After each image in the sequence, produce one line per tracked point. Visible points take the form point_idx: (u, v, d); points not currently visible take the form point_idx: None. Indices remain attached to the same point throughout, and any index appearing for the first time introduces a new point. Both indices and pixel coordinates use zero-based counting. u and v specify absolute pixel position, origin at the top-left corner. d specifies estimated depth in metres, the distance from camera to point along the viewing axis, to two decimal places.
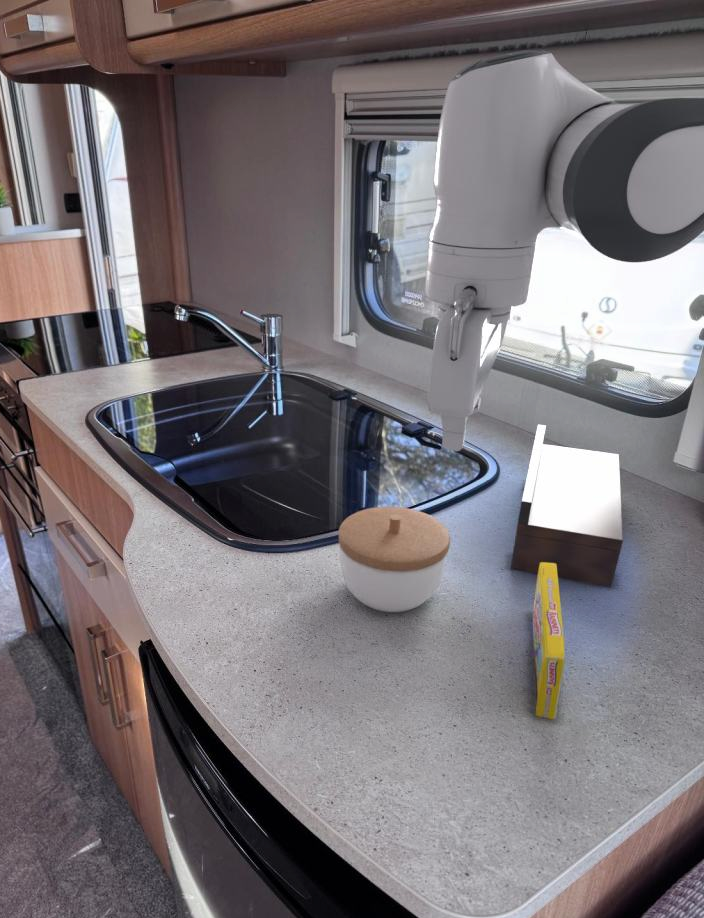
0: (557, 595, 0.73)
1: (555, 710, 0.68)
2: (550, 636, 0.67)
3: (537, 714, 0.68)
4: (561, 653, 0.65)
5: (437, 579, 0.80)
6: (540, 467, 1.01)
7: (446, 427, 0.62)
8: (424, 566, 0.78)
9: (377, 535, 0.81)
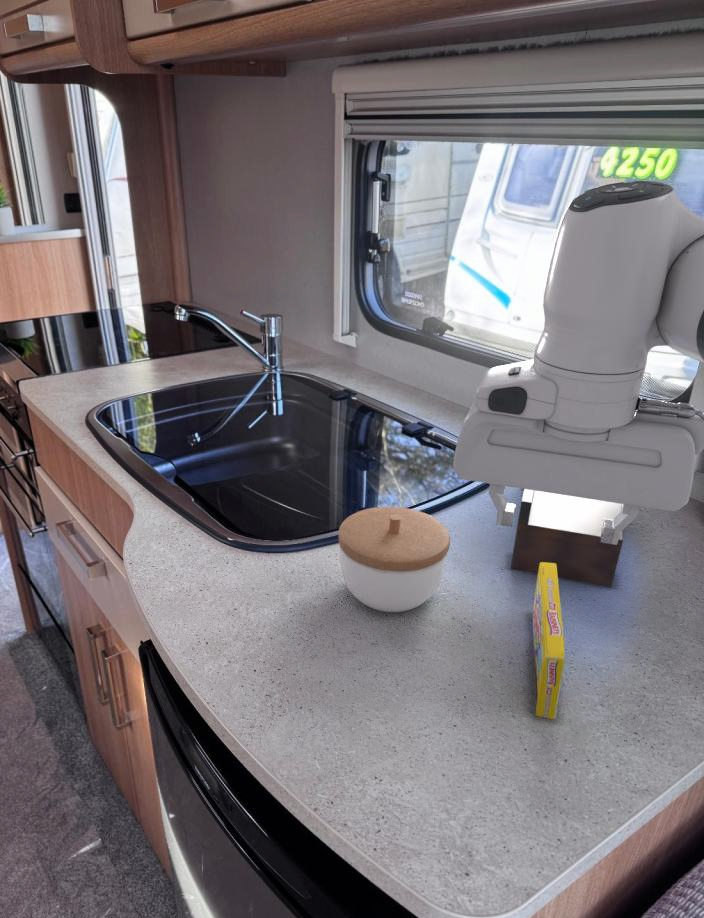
0: (557, 595, 0.73)
1: (555, 710, 0.68)
2: (550, 636, 0.67)
3: (537, 714, 0.68)
4: (561, 653, 0.65)
5: (437, 579, 0.80)
6: None
7: (626, 524, 0.65)
8: (424, 566, 0.78)
9: (377, 535, 0.81)
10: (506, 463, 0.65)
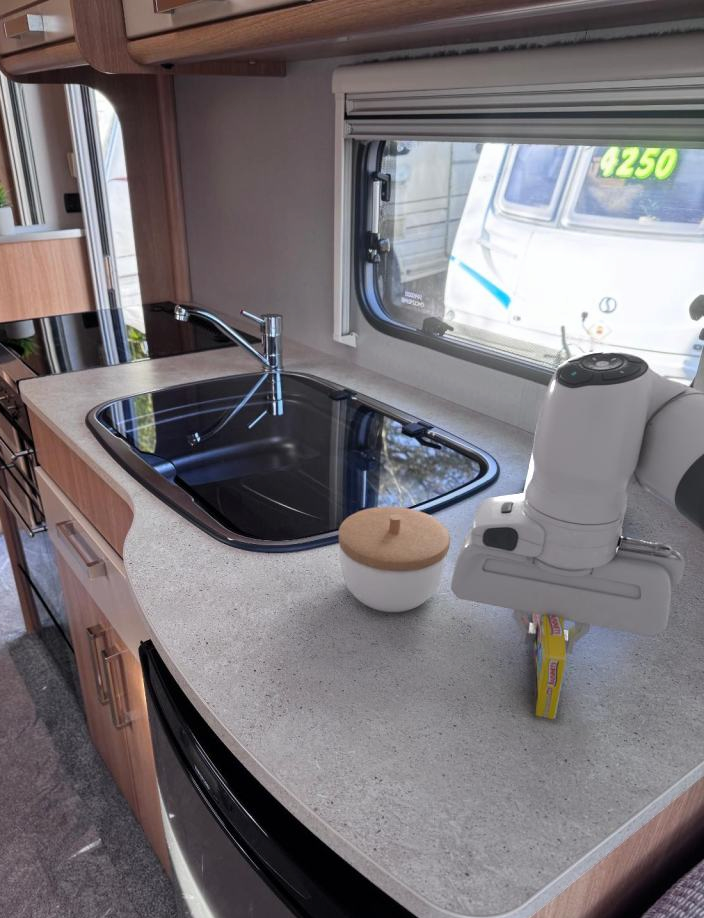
0: None
1: (555, 710, 0.68)
2: (551, 636, 0.67)
3: (537, 714, 0.68)
4: (562, 653, 0.65)
5: (437, 579, 0.80)
6: None
7: (579, 637, 0.72)
8: (424, 566, 0.78)
9: (377, 535, 0.81)
10: (499, 587, 0.71)
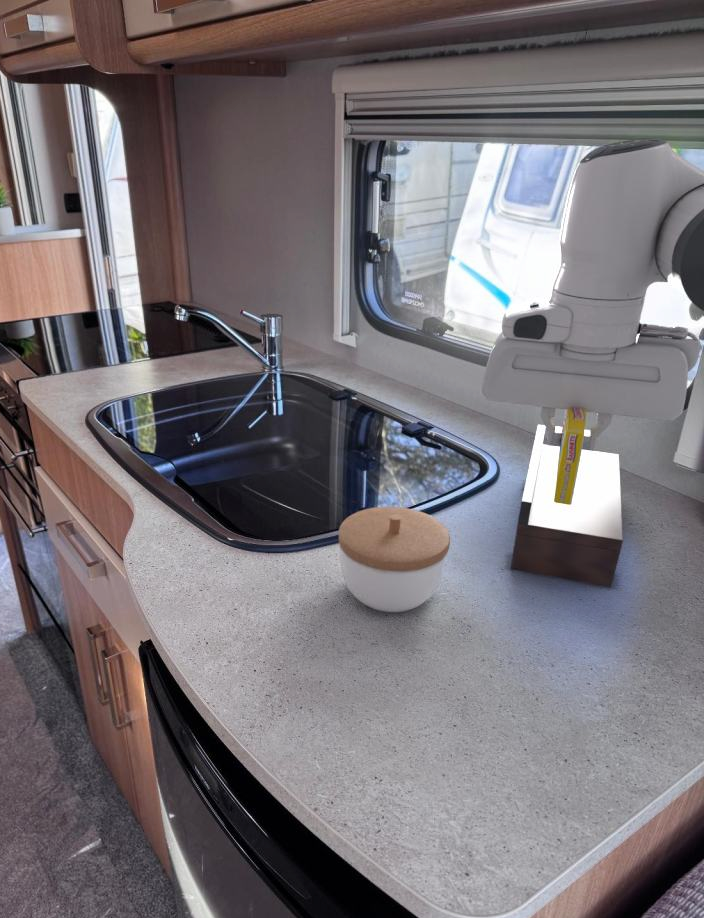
0: None
1: (573, 488, 0.73)
2: (573, 419, 0.73)
3: (556, 493, 0.74)
4: (581, 428, 0.71)
5: (437, 579, 0.80)
6: (540, 467, 1.01)
7: (601, 432, 0.77)
8: (424, 566, 0.78)
9: (377, 535, 0.81)
10: (527, 384, 0.76)
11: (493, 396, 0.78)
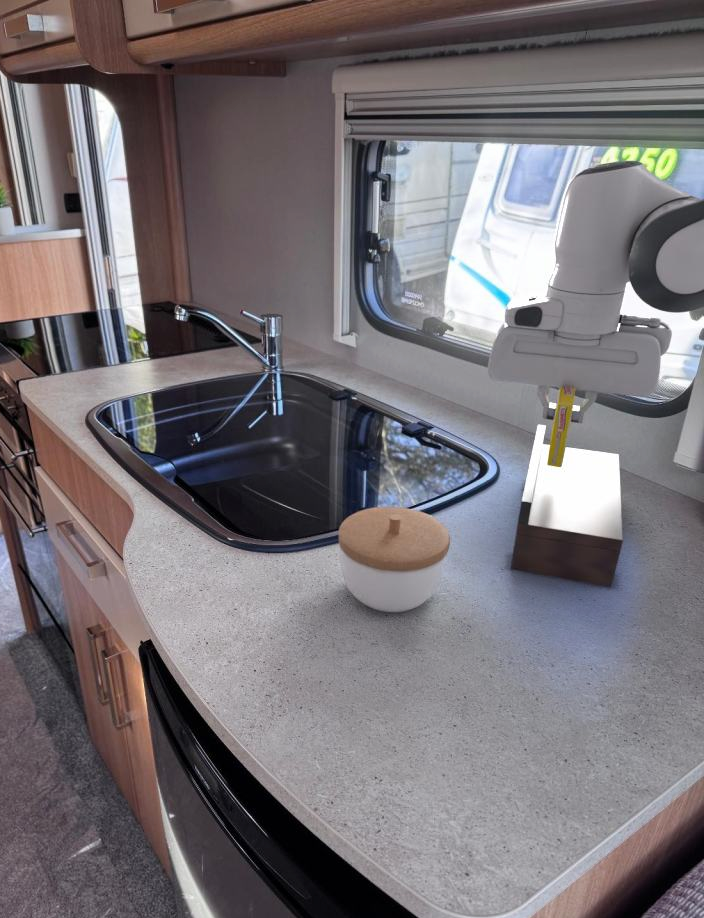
0: None
1: (563, 453, 0.87)
2: (564, 395, 0.87)
3: (548, 457, 0.88)
4: (570, 402, 0.84)
5: (437, 579, 0.80)
6: (540, 467, 1.01)
7: (588, 407, 0.91)
8: (424, 566, 0.78)
9: (377, 535, 0.81)
10: (526, 366, 0.90)
11: (497, 376, 0.91)
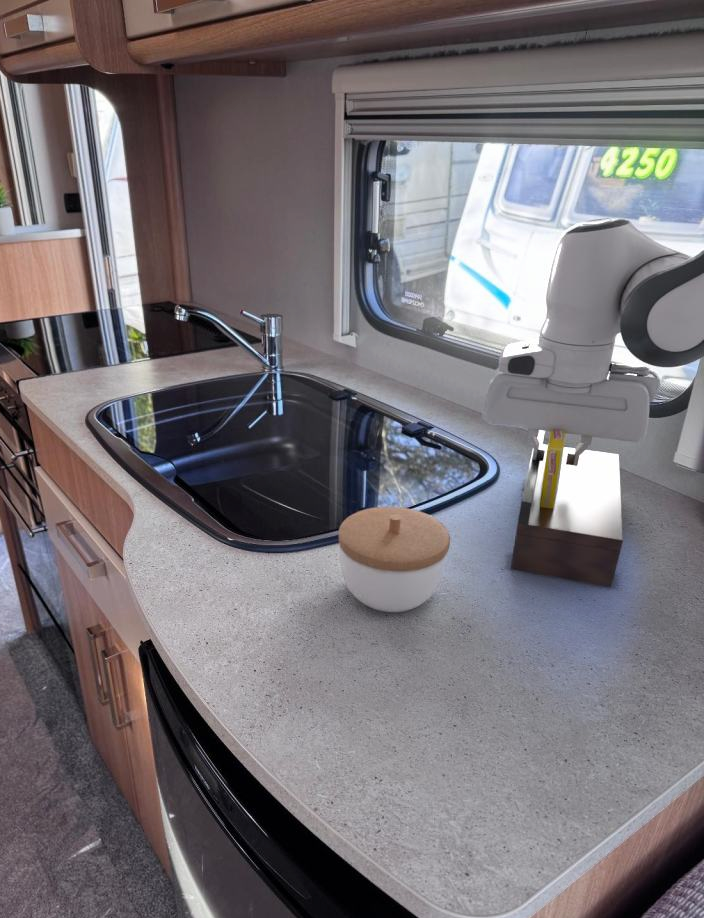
0: None
1: (554, 495, 0.90)
2: (553, 439, 0.89)
3: (541, 499, 0.90)
4: (559, 447, 0.87)
5: (437, 579, 0.80)
6: (540, 467, 1.01)
7: (583, 450, 0.93)
8: (424, 566, 0.78)
9: (377, 535, 0.81)
10: (520, 410, 0.93)
11: (491, 420, 0.94)
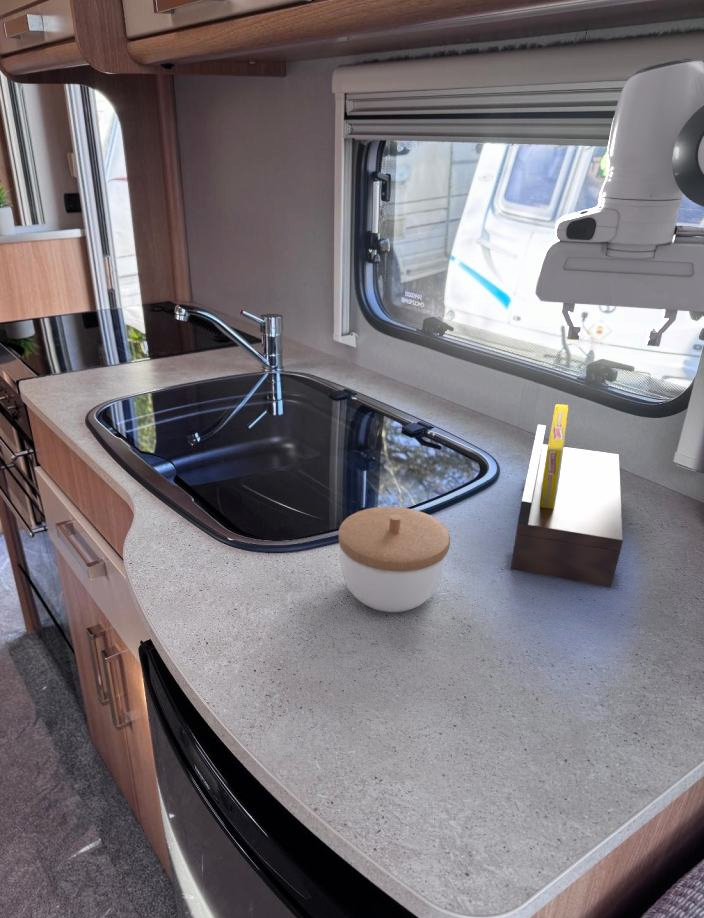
0: (564, 420, 0.95)
1: (554, 495, 0.90)
2: (553, 439, 0.89)
3: (541, 499, 0.90)
4: (559, 447, 0.87)
5: (437, 579, 0.80)
6: (540, 467, 1.01)
7: (666, 328, 0.88)
8: (424, 566, 0.78)
9: (377, 535, 0.81)
10: (577, 283, 0.87)
11: (546, 296, 0.89)
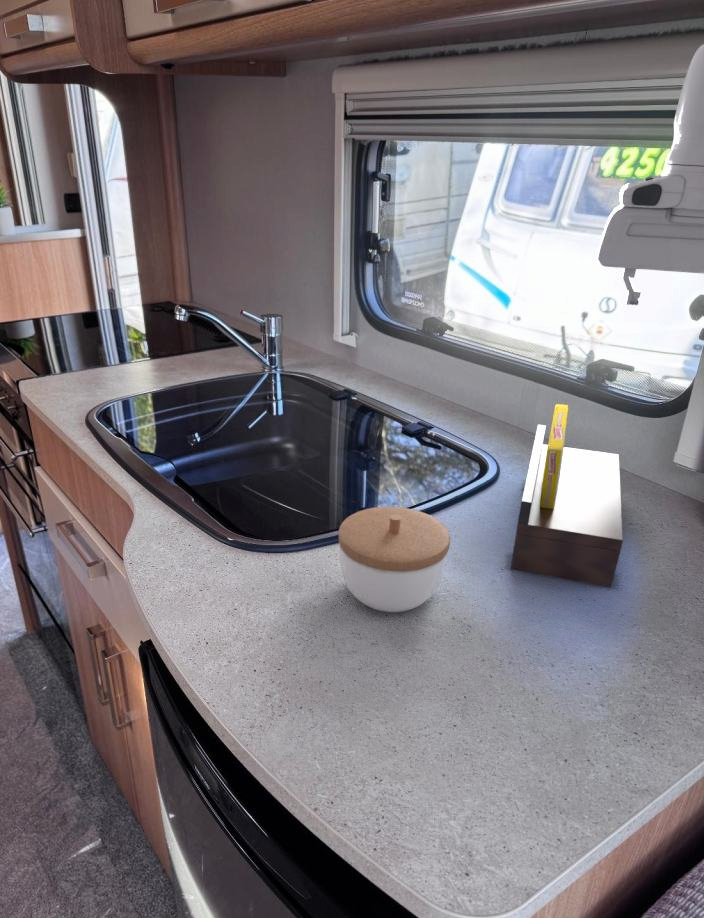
0: (564, 420, 0.95)
1: (554, 495, 0.90)
2: (553, 439, 0.89)
3: (541, 499, 0.90)
4: (559, 447, 0.87)
5: (437, 579, 0.80)
6: (540, 467, 1.01)
7: None
8: (424, 566, 0.78)
9: (377, 535, 0.81)
10: (639, 249, 0.90)
11: (608, 261, 0.92)
